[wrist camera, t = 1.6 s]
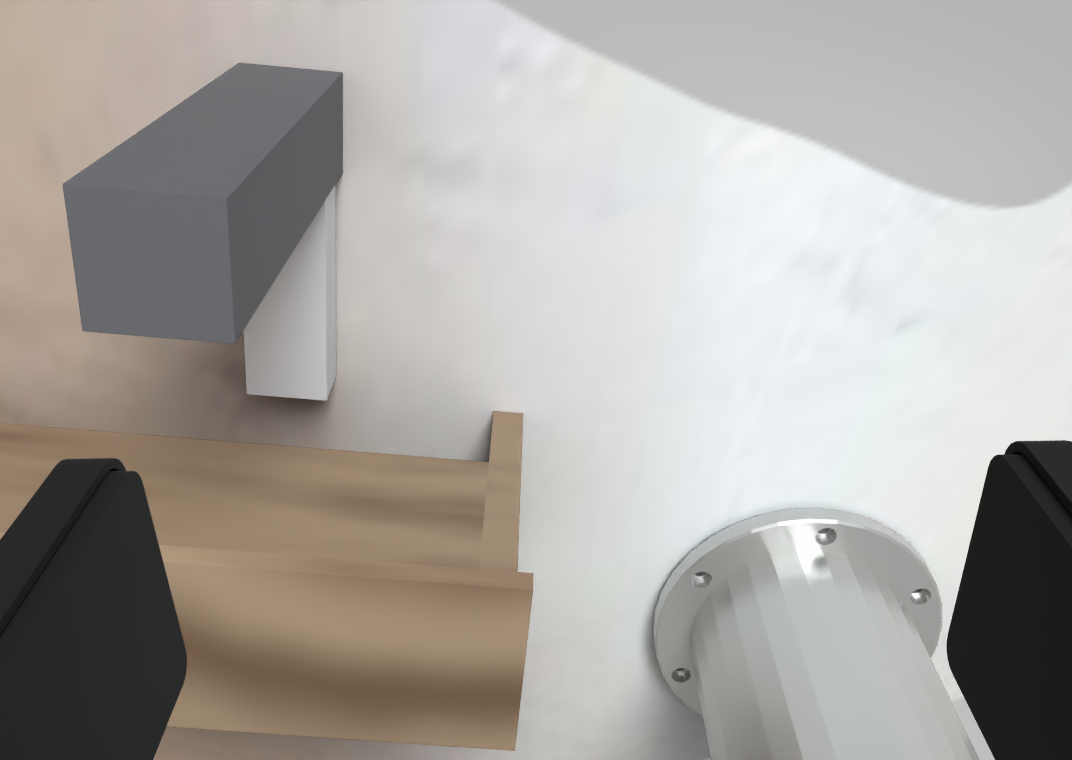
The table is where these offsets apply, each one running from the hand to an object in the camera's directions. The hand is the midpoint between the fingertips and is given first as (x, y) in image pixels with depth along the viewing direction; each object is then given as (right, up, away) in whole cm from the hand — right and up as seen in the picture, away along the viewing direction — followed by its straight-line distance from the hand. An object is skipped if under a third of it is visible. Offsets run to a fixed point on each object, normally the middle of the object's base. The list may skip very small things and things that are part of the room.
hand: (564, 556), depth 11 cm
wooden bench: (-13, -1, +30) cm, 33 cm away
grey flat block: (-9, +7, +25) cm, 28 cm away
